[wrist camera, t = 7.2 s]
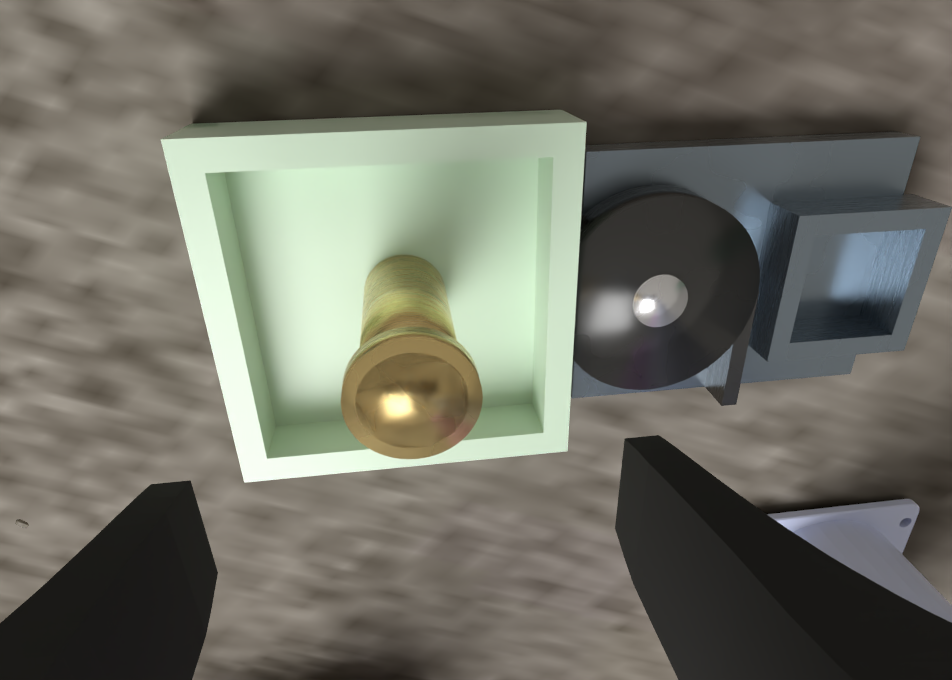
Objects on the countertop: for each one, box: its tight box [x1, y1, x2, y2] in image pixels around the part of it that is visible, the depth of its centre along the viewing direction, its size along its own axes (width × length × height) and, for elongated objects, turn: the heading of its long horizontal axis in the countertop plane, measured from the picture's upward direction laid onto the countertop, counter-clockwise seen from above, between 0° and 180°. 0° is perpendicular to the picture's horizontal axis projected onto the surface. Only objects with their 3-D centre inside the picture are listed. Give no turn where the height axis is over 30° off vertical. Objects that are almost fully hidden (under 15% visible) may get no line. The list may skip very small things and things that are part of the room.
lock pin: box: [341, 255, 483, 459], centre depth 16 cm, size 3×3×6 cm
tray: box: [161, 110, 587, 482], centre depth 18 cm, size 10×10×2 cm
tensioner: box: [571, 131, 952, 406], centre depth 19 cm, size 8×11×2 cm
